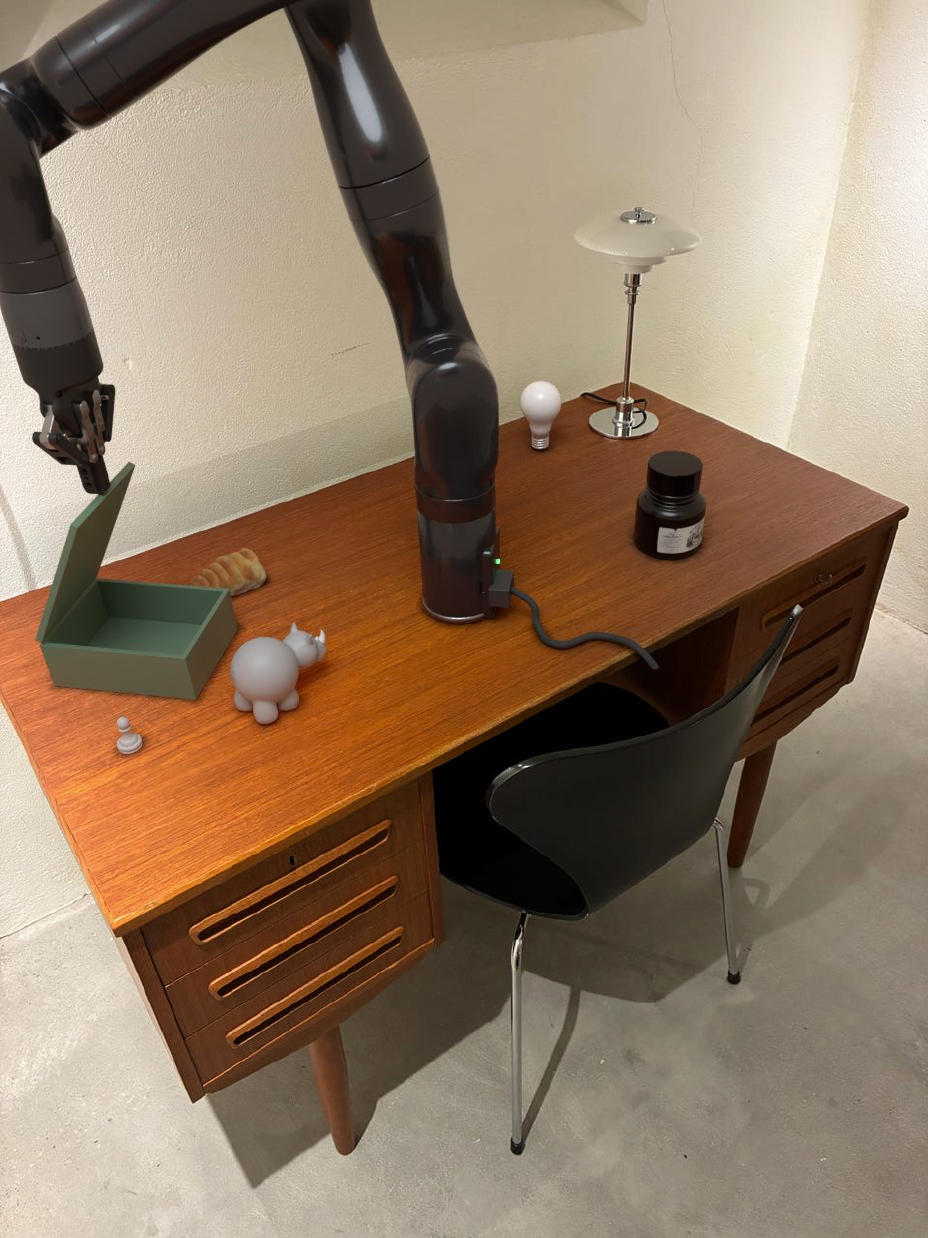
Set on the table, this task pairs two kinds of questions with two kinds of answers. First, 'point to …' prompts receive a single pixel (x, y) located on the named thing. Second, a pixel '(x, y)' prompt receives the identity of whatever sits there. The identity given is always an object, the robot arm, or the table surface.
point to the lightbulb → (540, 410)
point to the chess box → (141, 638)
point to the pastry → (232, 573)
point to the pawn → (127, 738)
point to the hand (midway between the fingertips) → (98, 490)
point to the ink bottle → (671, 506)
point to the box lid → (84, 551)
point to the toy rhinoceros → (273, 672)
